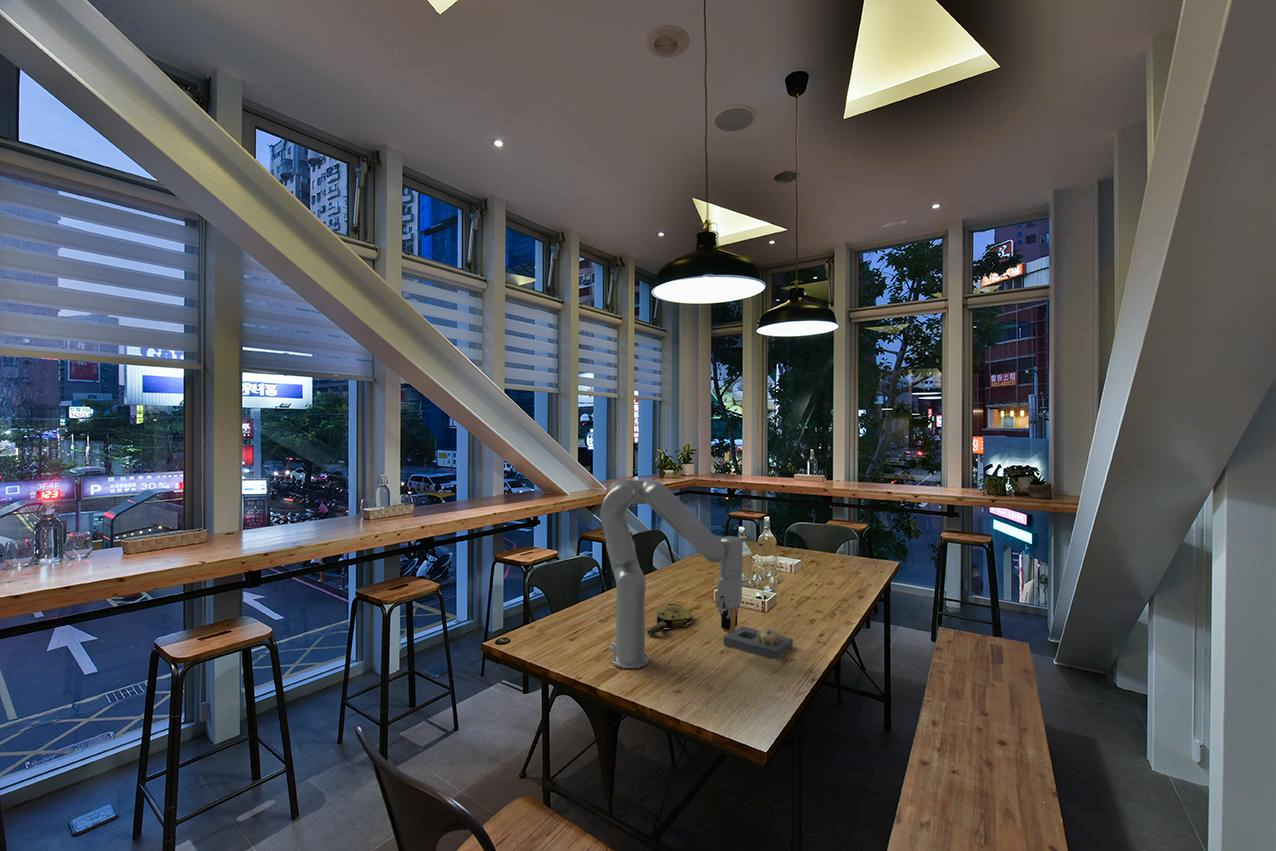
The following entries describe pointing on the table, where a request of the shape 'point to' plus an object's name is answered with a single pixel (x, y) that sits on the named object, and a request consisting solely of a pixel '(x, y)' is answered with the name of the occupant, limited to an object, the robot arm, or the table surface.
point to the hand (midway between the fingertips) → (729, 626)
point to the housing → (759, 642)
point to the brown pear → (731, 620)
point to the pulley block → (671, 618)
